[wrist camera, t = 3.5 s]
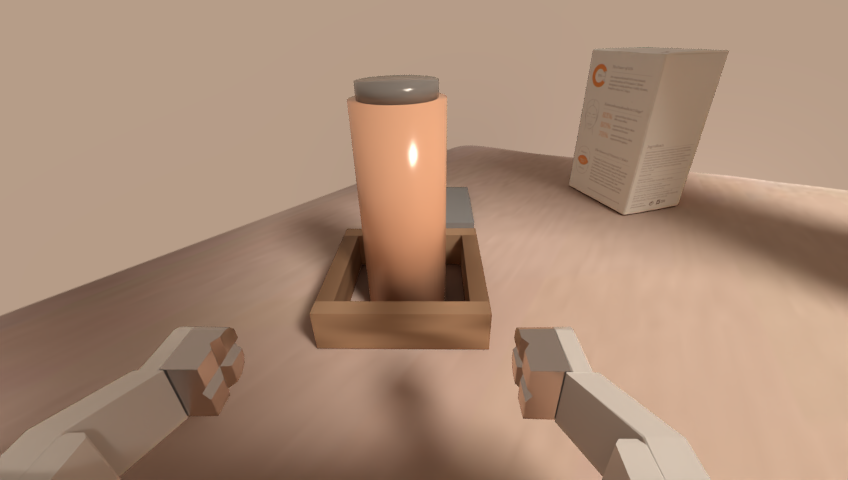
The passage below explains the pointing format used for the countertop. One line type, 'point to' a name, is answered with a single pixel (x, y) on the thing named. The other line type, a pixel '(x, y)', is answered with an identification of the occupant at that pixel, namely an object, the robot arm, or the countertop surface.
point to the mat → (458, 208)
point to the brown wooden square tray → (402, 305)
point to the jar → (401, 184)
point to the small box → (643, 124)
